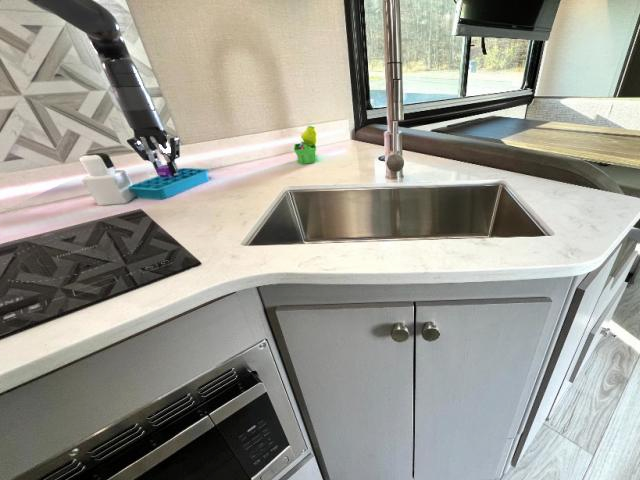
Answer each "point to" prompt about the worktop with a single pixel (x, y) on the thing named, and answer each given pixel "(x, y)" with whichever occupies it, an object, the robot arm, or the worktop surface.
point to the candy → (164, 171)
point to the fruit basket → (307, 146)
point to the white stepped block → (106, 180)
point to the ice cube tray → (170, 184)
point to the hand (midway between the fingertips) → (169, 174)
